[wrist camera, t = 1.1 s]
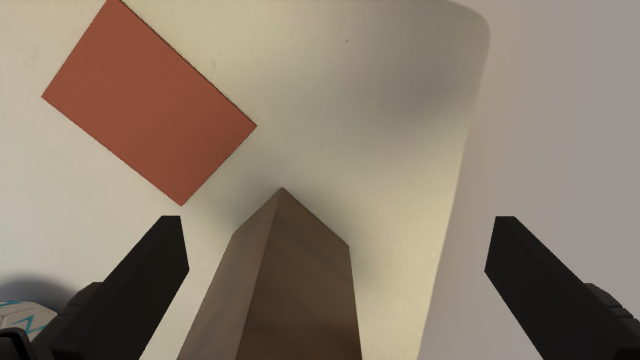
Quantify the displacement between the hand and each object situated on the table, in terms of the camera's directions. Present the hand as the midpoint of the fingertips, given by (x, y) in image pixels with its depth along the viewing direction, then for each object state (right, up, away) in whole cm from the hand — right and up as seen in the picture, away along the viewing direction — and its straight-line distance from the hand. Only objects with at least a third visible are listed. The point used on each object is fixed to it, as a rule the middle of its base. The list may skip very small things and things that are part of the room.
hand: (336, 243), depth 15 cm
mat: (-17, +9, +19) cm, 27 cm away
